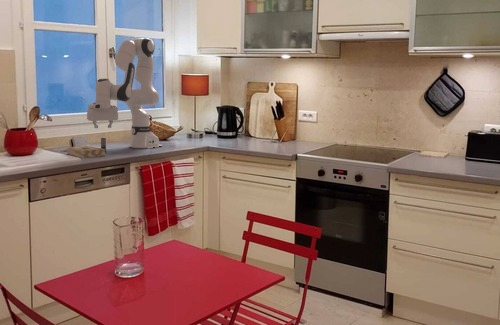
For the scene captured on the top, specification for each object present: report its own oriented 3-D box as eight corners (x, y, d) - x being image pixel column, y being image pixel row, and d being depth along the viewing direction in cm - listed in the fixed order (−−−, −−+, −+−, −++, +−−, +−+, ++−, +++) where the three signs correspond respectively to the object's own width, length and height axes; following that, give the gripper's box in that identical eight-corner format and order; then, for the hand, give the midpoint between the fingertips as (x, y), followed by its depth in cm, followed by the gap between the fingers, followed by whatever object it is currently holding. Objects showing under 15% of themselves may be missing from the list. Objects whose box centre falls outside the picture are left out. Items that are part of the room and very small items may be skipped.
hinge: (78, 151, 346) (73, 135, 345) (72, 153, 347) (67, 138, 347) (92, 148, 362) (87, 133, 361) (86, 150, 363) (81, 135, 363)
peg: (104, 151, 347) (104, 137, 345) (106, 152, 345) (106, 138, 343) (100, 152, 345) (99, 137, 343) (102, 152, 343) (102, 138, 341)
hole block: (88, 152, 343) (88, 145, 343) (104, 155, 332) (104, 149, 331) (67, 153, 333) (67, 147, 333) (83, 157, 321) (83, 150, 321)
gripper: (114, 105, 350) (114, 127, 352) (85, 105, 335) (85, 127, 337) (120, 105, 346) (120, 127, 347) (91, 105, 331) (91, 128, 332)
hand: (102, 127), depth 342 cm, fingers open, 8 cm apart
